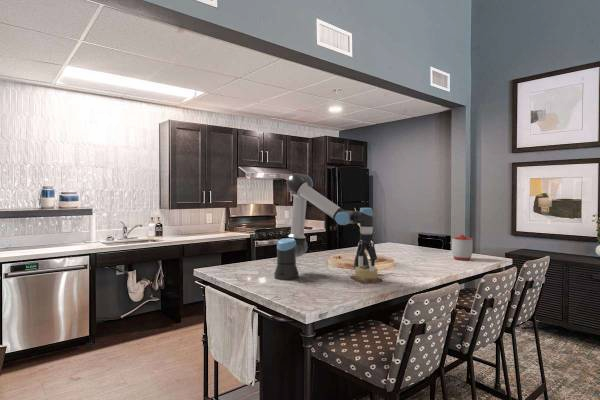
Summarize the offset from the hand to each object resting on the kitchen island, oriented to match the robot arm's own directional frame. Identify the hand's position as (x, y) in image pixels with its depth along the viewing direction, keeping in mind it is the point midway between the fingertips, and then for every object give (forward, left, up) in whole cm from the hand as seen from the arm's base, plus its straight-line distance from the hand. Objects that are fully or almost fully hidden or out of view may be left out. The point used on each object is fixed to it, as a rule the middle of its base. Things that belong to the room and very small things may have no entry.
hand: (366, 268), depth 219 cm
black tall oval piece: (+6, +17, -7) cm, 19 cm away
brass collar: (0, 0, -5) cm, 5 cm away
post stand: (0, 0, -7) cm, 7 cm away
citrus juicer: (+107, +38, -7) cm, 114 cm away
